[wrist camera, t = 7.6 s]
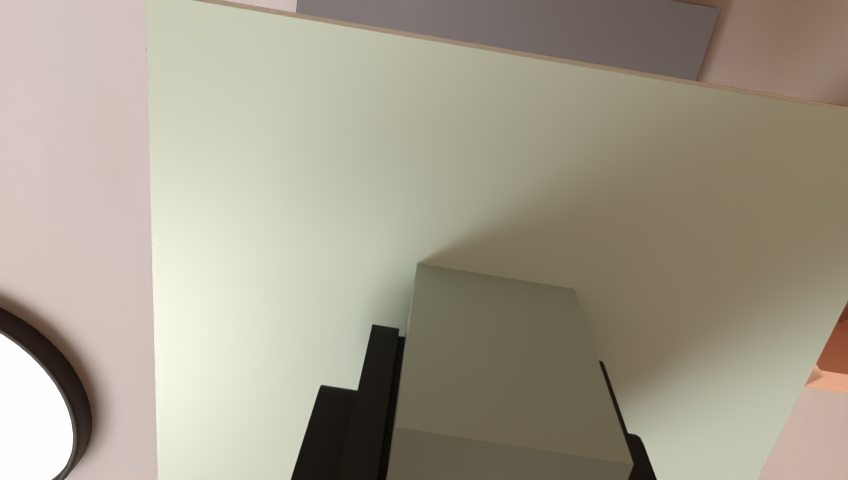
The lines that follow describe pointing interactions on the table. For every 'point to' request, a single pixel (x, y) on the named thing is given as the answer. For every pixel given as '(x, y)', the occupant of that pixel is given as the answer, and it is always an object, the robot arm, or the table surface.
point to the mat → (551, 27)
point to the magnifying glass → (38, 406)
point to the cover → (478, 250)
